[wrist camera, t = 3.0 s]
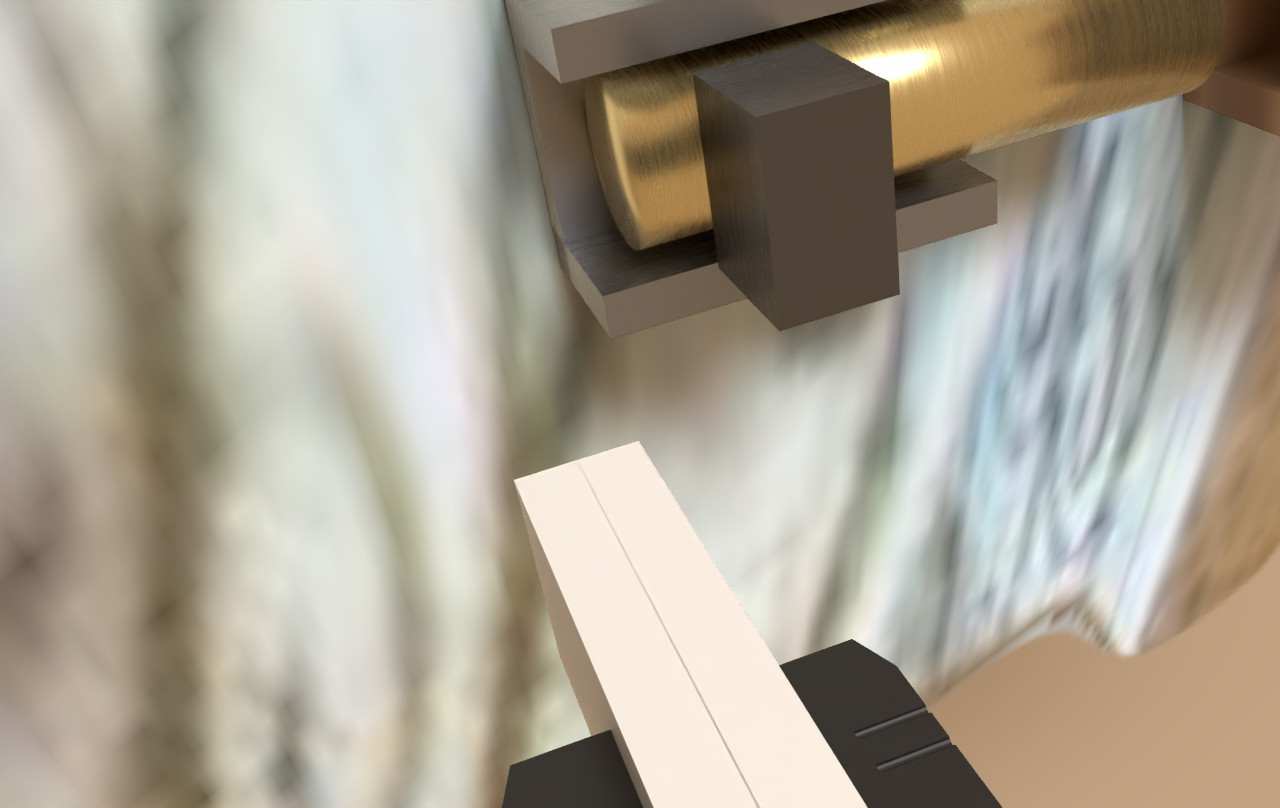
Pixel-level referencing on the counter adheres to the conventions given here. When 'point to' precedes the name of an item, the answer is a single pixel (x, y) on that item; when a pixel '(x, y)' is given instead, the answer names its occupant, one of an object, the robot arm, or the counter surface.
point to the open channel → (581, 219)
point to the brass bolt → (864, 125)
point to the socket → (1246, 67)
